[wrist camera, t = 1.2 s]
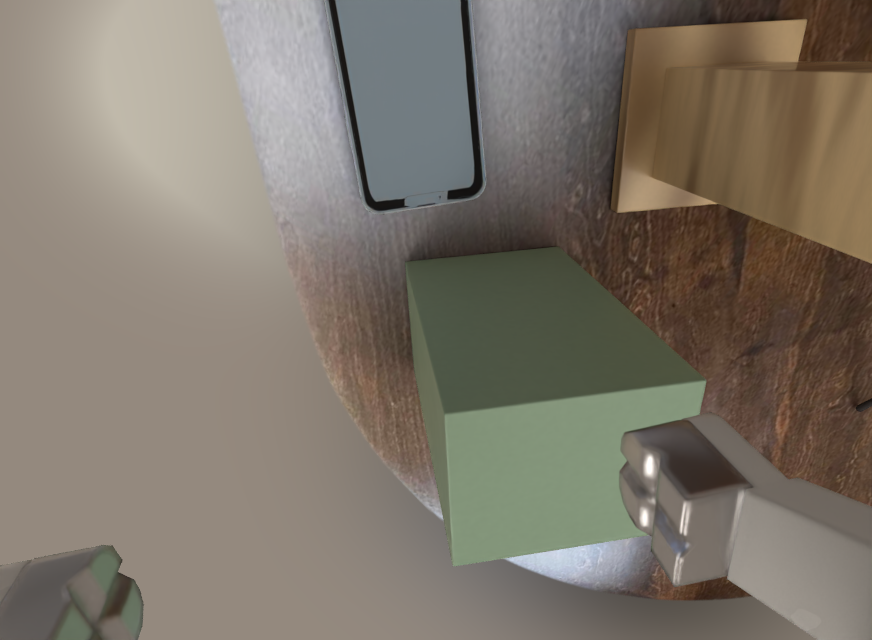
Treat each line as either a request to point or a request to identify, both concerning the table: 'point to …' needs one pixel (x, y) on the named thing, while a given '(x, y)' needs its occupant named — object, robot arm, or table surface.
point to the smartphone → (410, 100)
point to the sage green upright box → (534, 399)
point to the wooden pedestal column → (747, 130)
